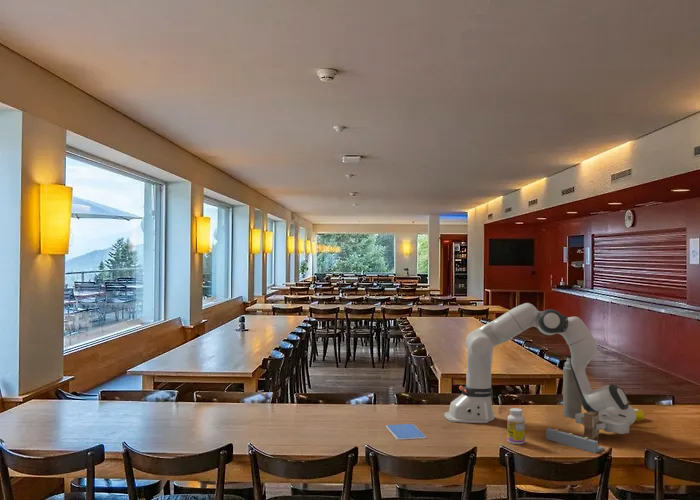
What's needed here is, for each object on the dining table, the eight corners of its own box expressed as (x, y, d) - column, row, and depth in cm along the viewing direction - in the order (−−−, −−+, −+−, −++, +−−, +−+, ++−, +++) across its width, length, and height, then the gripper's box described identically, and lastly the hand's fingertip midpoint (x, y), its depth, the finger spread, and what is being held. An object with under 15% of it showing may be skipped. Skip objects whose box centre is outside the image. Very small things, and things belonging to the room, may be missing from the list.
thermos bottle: (561, 413, 268) (561, 354, 269) (578, 414, 267) (578, 354, 268) (565, 418, 260) (565, 356, 261) (583, 418, 259) (583, 357, 260)
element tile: (617, 413, 272) (617, 402, 272) (645, 420, 258) (645, 410, 258) (595, 416, 265) (595, 405, 266) (622, 424, 252) (622, 413, 252)
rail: (595, 453, 211) (595, 440, 211) (546, 438, 228) (546, 427, 228) (604, 450, 215) (604, 437, 215) (555, 436, 232) (555, 424, 232)
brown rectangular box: (591, 442, 224) (591, 414, 224) (584, 440, 226) (584, 413, 226) (598, 440, 227) (598, 412, 227) (591, 438, 230) (591, 410, 230)
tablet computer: (427, 440, 227) (427, 436, 227) (397, 441, 224) (397, 438, 224) (413, 426, 246) (413, 423, 246) (385, 427, 243) (385, 424, 243)
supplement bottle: (504, 439, 226) (504, 407, 227) (520, 439, 227) (521, 407, 227) (510, 445, 220) (511, 411, 220) (527, 444, 220) (527, 411, 221)
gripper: (585, 407, 243) (566, 411, 235) (633, 418, 226) (614, 423, 218) (585, 422, 243) (566, 427, 235) (633, 434, 226) (614, 440, 218)
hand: (590, 425), depth 226 cm, fingers closed on brown rectangular box, 3 cm apart
